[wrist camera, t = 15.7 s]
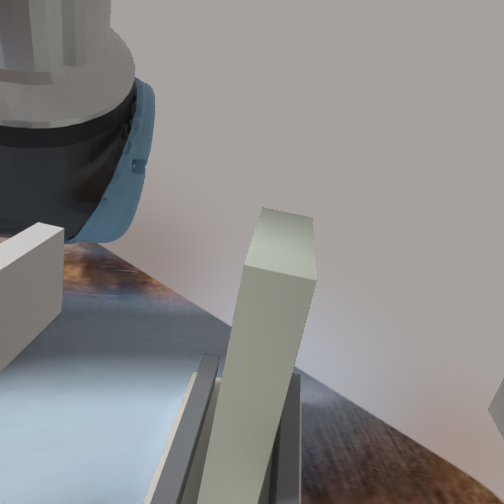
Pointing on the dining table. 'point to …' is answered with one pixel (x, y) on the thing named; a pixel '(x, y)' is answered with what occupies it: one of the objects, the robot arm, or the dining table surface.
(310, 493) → the dining table surface
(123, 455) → the dining table surface
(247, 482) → the door
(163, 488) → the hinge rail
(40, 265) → the robot arm
